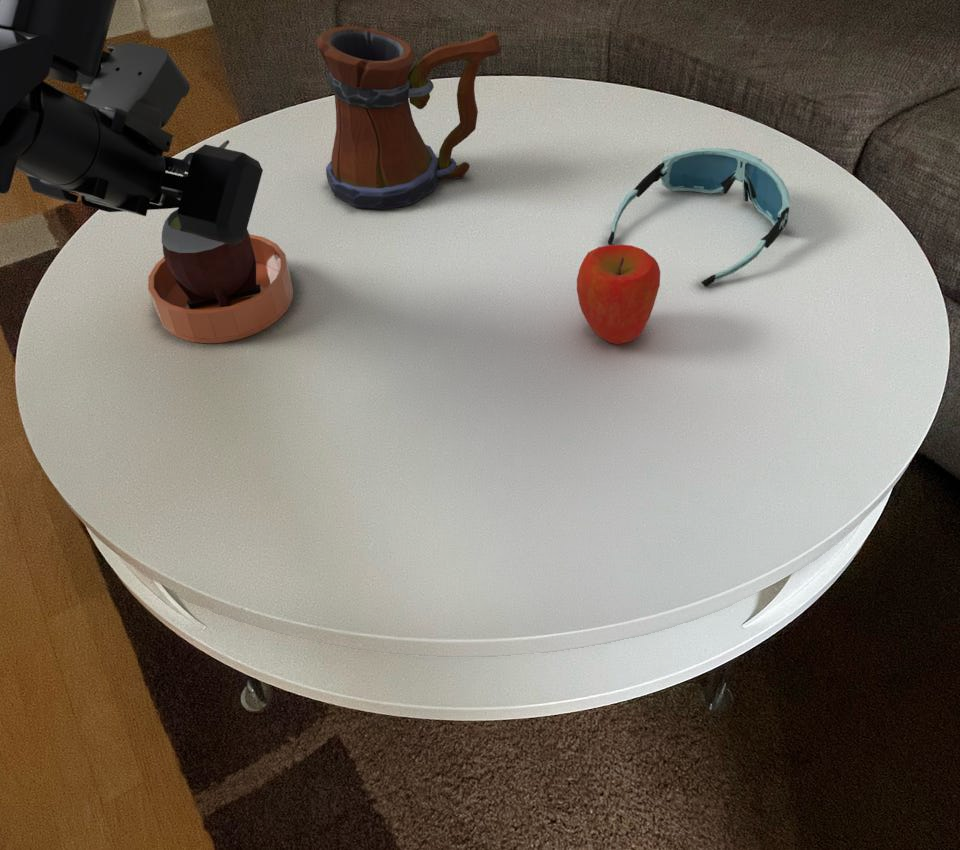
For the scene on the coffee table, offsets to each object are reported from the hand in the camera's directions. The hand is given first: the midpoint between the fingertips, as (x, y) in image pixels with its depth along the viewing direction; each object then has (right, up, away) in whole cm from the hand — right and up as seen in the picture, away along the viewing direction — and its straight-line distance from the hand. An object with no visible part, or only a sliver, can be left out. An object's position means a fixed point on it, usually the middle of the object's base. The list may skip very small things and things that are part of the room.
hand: (211, 207), depth 74 cm
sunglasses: (+42, 0, +10) cm, 43 cm away
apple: (+33, -10, 0) cm, 35 cm away
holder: (0, -7, +5) cm, 9 cm away
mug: (+15, +7, +19) cm, 25 cm away
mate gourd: (0, -7, +4) cm, 8 cm away
